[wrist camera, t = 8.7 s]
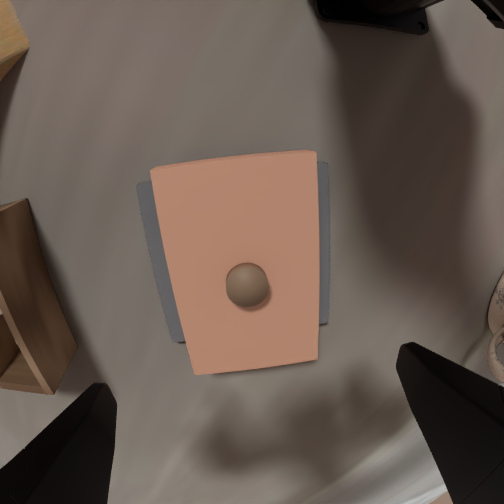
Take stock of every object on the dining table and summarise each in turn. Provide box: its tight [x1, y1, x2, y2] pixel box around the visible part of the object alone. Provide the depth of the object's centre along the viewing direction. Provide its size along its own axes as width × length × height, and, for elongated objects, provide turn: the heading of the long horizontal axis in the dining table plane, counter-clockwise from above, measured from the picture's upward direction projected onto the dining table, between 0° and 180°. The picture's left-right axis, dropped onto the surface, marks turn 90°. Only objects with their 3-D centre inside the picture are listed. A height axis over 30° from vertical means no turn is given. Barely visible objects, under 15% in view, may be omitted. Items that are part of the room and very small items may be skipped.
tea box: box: [0, 198, 78, 395], centre depth 14 cm, size 10×5×4 cm, turn 5°
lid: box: [150, 150, 319, 375], centre depth 14 cm, size 11×7×3 cm, turn 5°
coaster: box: [136, 161, 330, 342], centre depth 16 cm, size 9×9×1 cm
